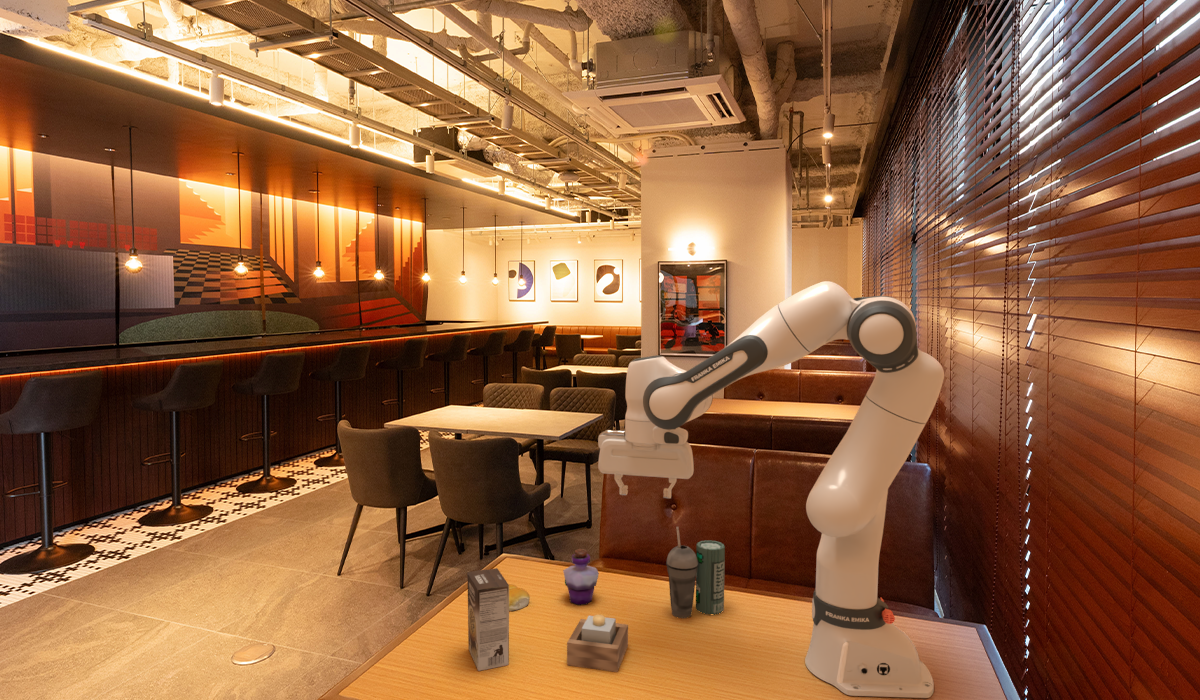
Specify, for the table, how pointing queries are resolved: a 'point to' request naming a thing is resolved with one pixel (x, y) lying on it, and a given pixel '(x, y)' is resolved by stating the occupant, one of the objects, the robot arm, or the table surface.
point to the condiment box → (597, 650)
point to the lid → (599, 629)
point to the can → (710, 577)
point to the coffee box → (488, 618)
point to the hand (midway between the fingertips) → (645, 496)
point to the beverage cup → (681, 578)
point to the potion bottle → (580, 578)
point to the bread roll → (517, 598)
